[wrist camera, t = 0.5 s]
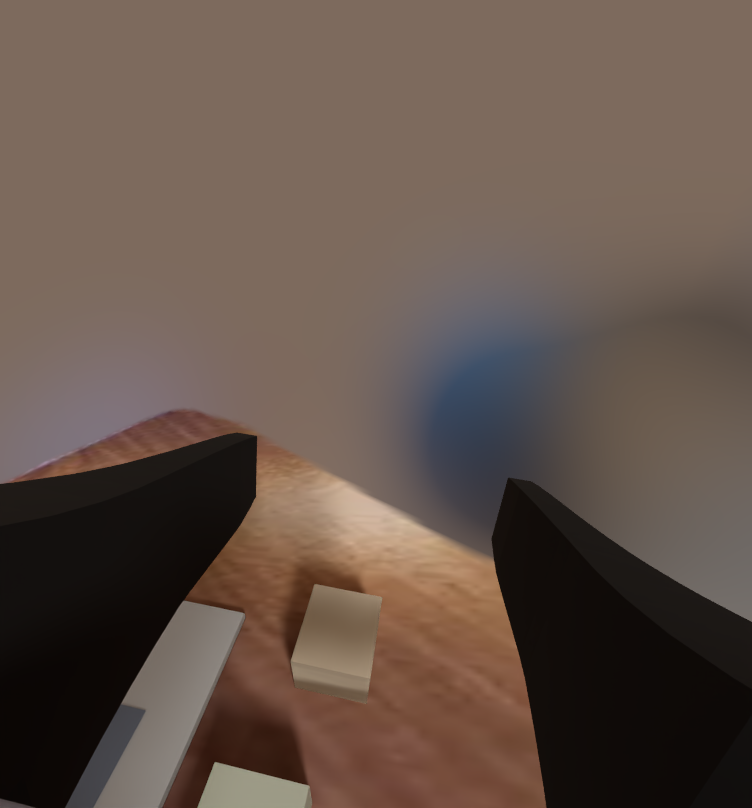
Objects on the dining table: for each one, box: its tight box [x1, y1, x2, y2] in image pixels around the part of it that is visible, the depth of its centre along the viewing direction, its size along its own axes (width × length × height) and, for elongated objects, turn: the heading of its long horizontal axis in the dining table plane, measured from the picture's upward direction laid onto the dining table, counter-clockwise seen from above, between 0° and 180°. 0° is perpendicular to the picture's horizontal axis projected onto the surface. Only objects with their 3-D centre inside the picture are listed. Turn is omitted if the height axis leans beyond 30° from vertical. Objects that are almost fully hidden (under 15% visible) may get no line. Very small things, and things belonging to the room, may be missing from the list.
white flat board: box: [65, 601, 246, 808], centre depth 19 cm, size 18×12×1 cm, turn 171°
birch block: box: [291, 584, 382, 704], centre depth 23 cm, size 4×4×4 cm
